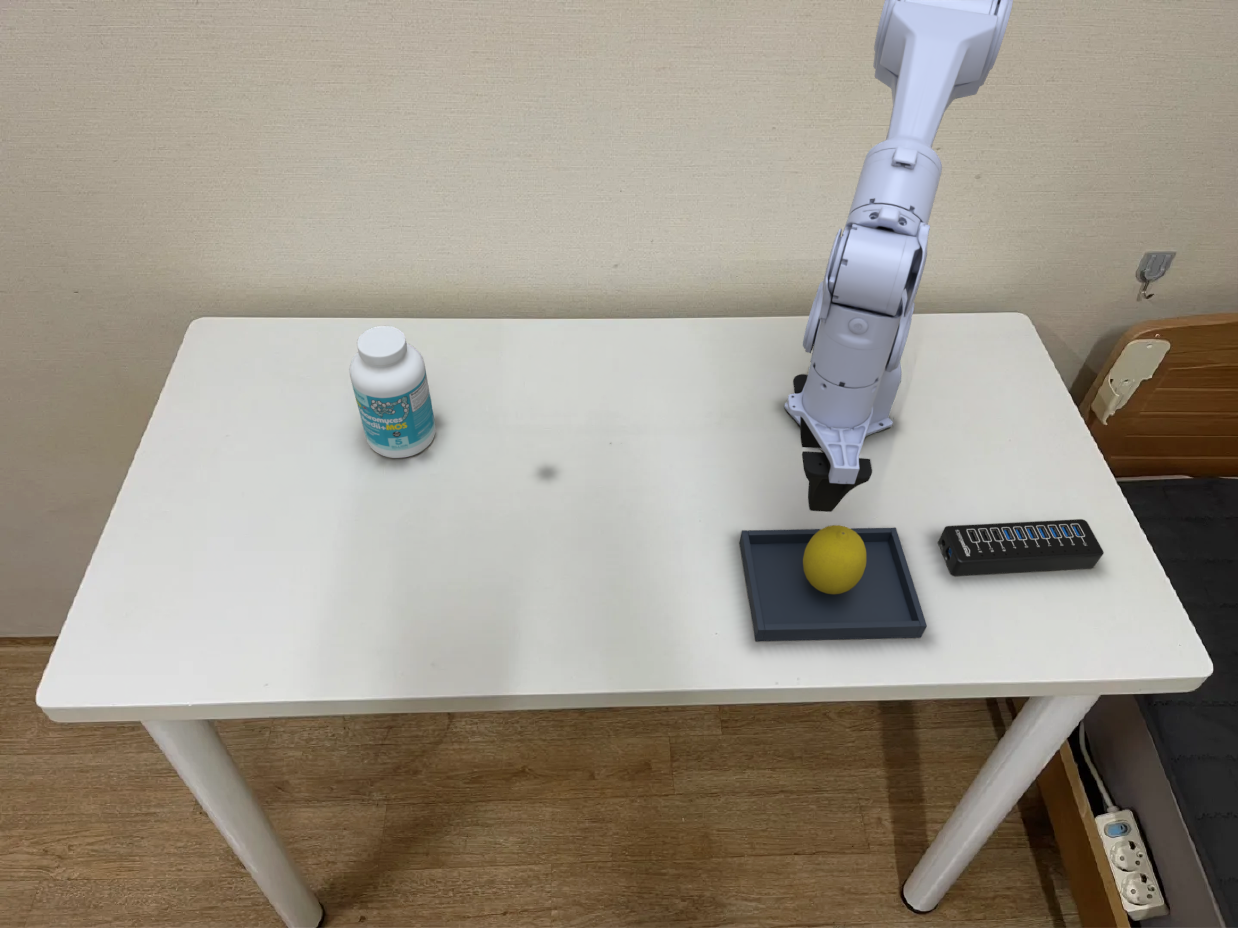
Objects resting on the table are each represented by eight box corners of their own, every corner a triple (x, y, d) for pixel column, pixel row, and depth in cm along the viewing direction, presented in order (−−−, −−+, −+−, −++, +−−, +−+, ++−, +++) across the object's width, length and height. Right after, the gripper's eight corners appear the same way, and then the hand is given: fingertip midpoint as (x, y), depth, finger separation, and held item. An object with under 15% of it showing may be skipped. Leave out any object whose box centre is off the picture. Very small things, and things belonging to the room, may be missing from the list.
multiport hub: (1095, 568, 86) (1105, 554, 85) (951, 576, 85) (958, 562, 84) (1076, 532, 89) (1085, 518, 88) (936, 540, 88) (943, 525, 87)
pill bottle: (353, 449, 95) (325, 352, 85) (390, 405, 100) (368, 308, 90) (414, 470, 93) (393, 373, 83) (449, 423, 98) (433, 327, 88)
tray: (890, 539, 88) (896, 527, 87) (921, 638, 81) (927, 626, 79) (739, 542, 88) (741, 530, 86) (755, 641, 80) (758, 630, 79)
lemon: (861, 574, 85) (881, 521, 79) (846, 619, 81) (866, 567, 75) (806, 553, 86) (821, 501, 80) (788, 597, 83) (803, 545, 77)
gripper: (790, 305, 76) (767, 417, 86) (805, 426, 66) (778, 536, 76) (873, 309, 76) (840, 421, 86) (900, 431, 66) (860, 540, 76)
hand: (816, 475), depth 81 cm, fingers open, 7 cm apart
